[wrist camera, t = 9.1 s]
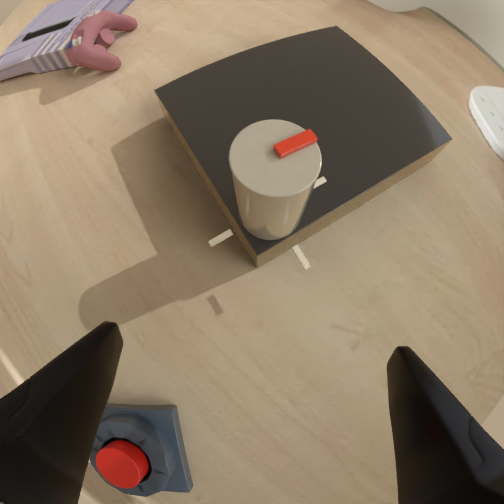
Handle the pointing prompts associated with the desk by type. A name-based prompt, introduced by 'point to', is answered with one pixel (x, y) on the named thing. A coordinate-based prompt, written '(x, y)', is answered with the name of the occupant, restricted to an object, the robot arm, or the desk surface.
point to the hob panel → (304, 125)
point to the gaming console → (50, 37)
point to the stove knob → (273, 176)
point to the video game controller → (97, 40)
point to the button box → (148, 445)
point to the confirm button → (122, 463)
